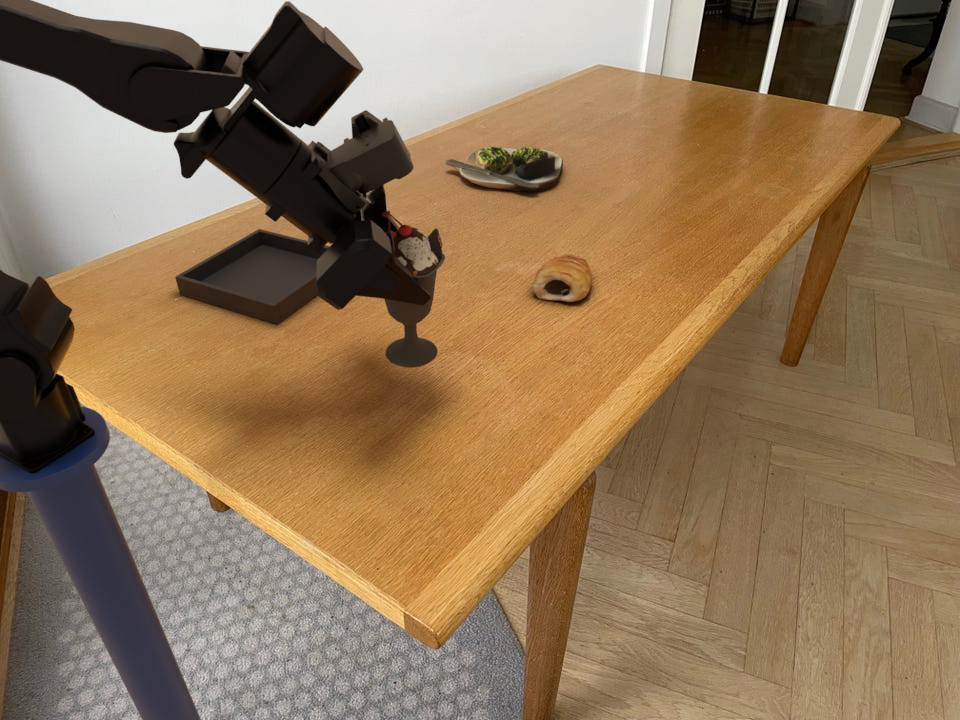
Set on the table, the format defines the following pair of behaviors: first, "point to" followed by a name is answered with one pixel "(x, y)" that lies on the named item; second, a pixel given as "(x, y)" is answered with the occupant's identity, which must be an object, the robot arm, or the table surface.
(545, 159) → the salad plate
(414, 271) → the sundae
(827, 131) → the table surface
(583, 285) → the pastry
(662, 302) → the table surface
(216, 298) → the baking tray
